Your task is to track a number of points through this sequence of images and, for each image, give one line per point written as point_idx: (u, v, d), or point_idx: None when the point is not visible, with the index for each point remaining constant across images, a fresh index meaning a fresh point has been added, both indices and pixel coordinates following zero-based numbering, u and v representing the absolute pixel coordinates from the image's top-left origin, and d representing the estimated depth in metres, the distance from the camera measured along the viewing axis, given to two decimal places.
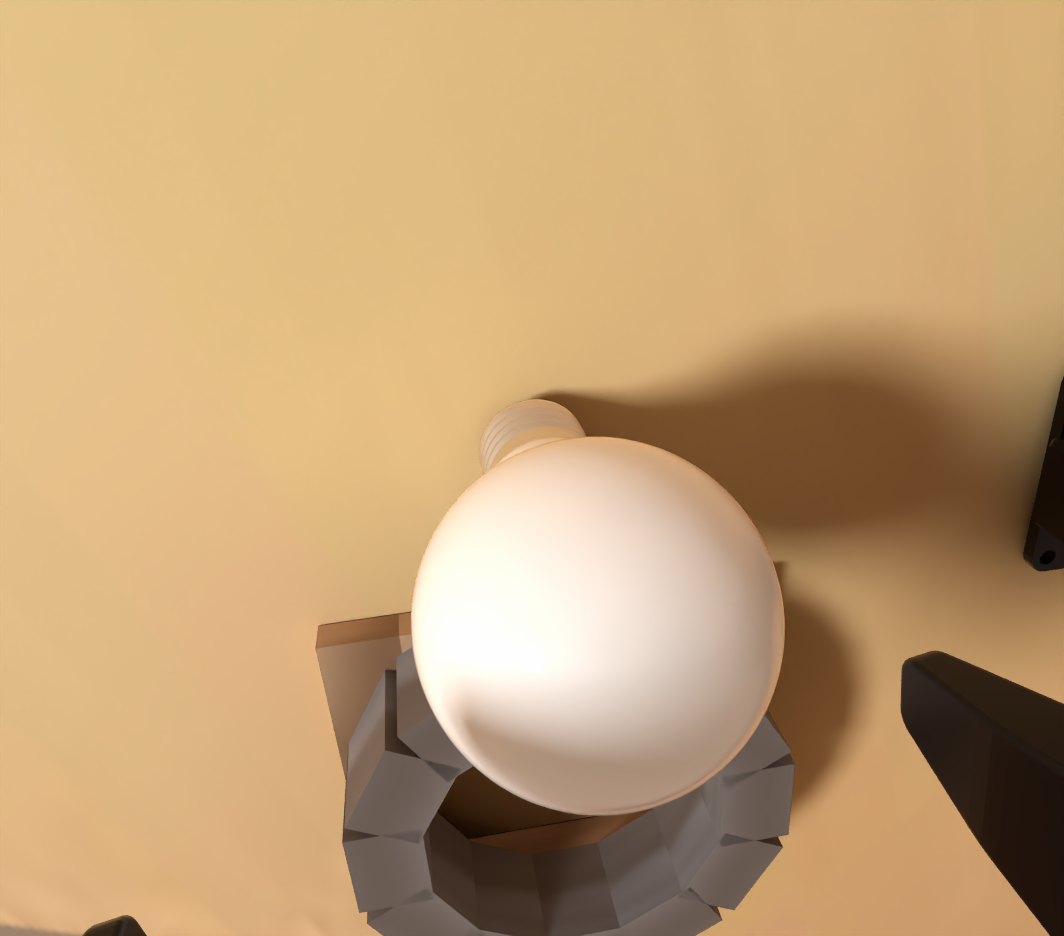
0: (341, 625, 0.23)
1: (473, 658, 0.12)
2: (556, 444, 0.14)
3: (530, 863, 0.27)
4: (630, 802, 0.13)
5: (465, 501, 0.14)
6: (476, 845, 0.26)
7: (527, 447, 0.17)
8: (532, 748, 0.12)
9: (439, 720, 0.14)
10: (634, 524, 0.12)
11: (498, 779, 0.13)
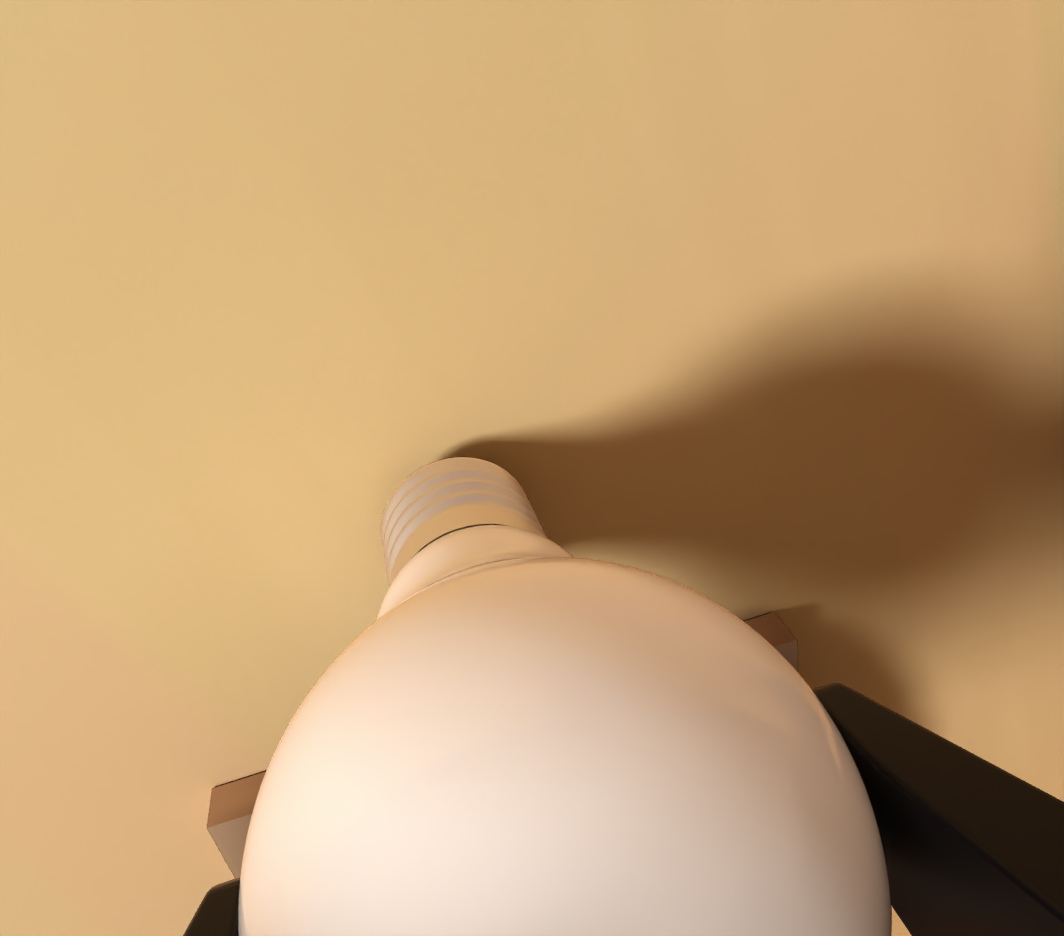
0: (243, 782, 0.17)
1: None
2: (448, 602, 0.08)
3: None
4: None
5: (298, 733, 0.08)
6: None
7: (430, 556, 0.11)
8: None
9: None
10: (597, 791, 0.06)
11: None
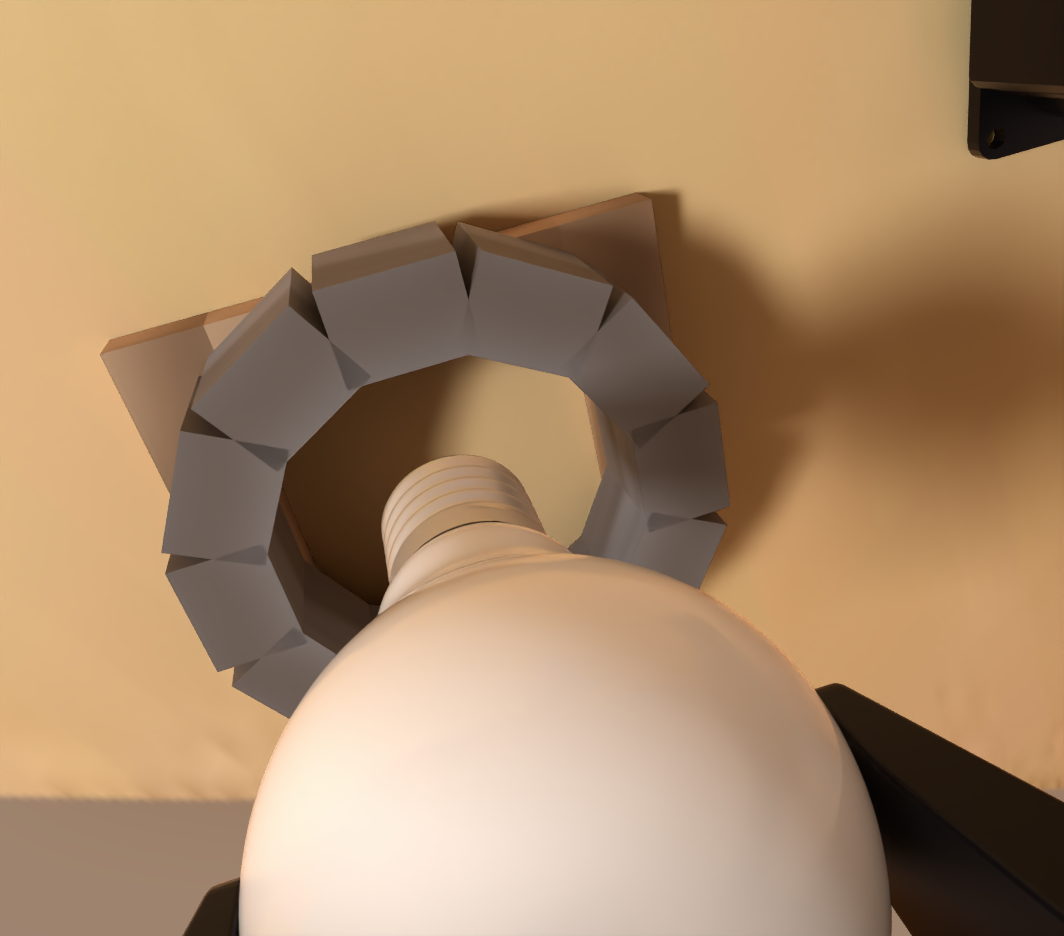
0: (139, 335, 0.19)
1: None
2: (448, 598, 0.08)
3: None
4: None
5: (298, 728, 0.08)
6: (376, 607, 0.22)
7: (431, 553, 0.11)
8: None
9: None
10: (597, 785, 0.06)
11: None
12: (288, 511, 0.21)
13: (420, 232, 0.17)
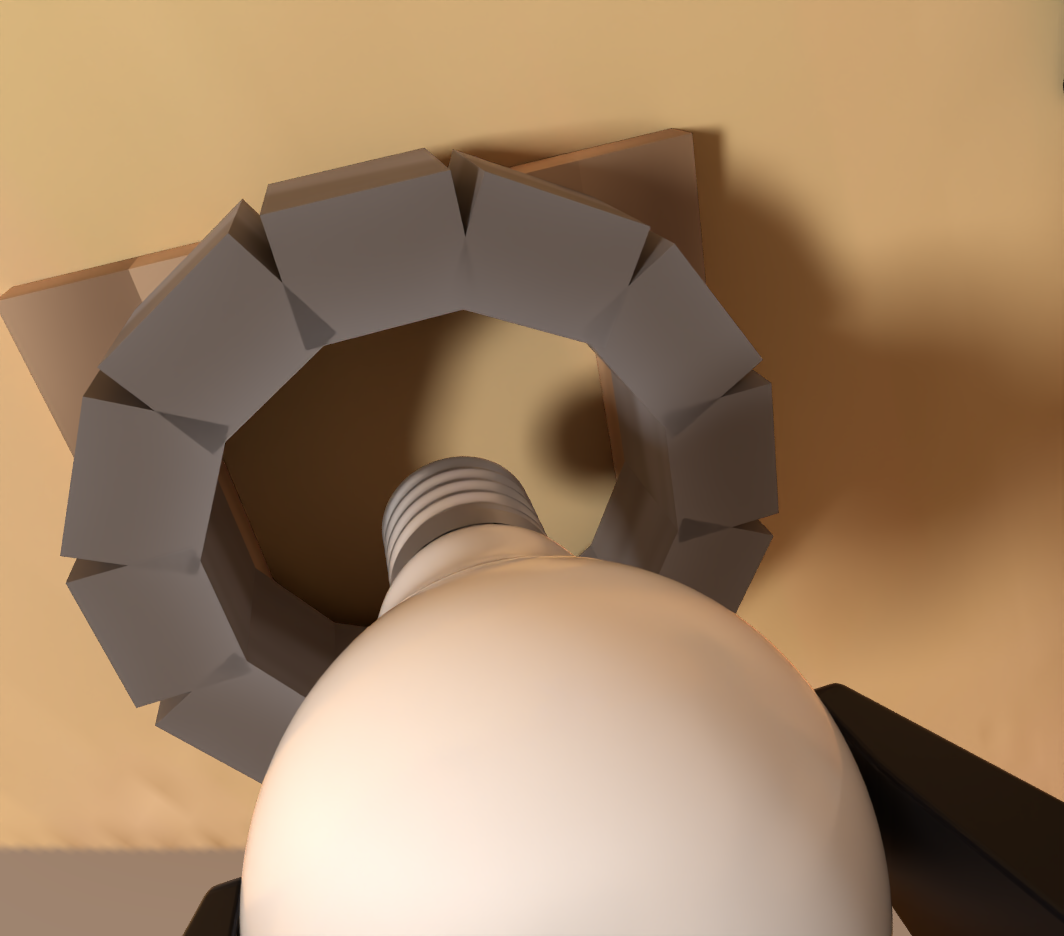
0: None
1: None
2: (449, 600, 0.08)
3: None
4: None
5: (300, 731, 0.08)
6: (343, 627, 0.18)
7: (432, 555, 0.11)
8: None
9: None
10: (598, 789, 0.06)
11: None
12: (237, 508, 0.17)
13: (405, 157, 0.14)
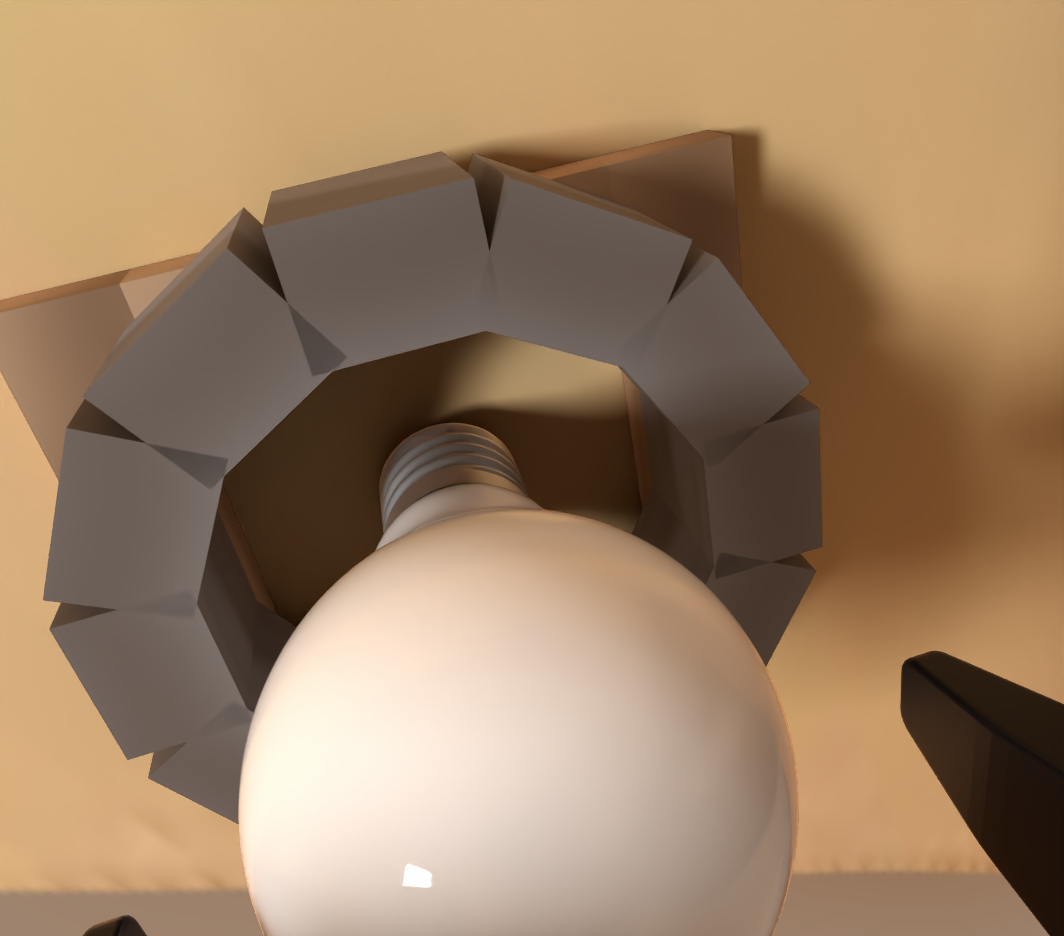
0: None
1: (303, 931, 0.08)
2: (422, 541, 0.09)
3: None
4: None
5: (291, 649, 0.09)
6: None
7: (418, 509, 0.13)
8: None
9: None
10: (534, 693, 0.07)
11: None
12: (238, 537, 0.16)
13: (422, 162, 0.13)
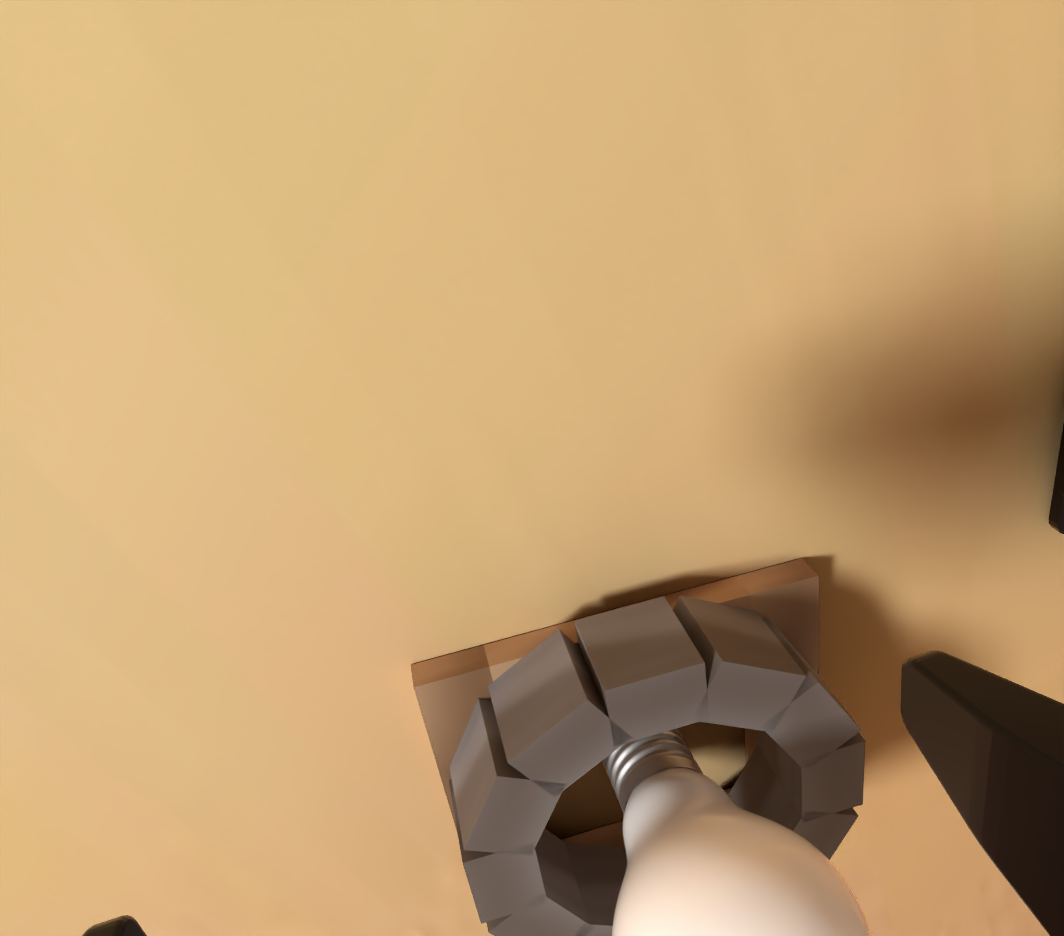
0: (431, 661, 0.25)
1: None
2: (705, 847, 0.20)
3: (622, 856, 0.28)
4: None
5: (651, 901, 0.20)
6: (571, 846, 0.28)
7: (658, 793, 0.24)
8: None
9: None
10: (781, 934, 0.18)
11: None
12: None
13: (659, 613, 0.24)
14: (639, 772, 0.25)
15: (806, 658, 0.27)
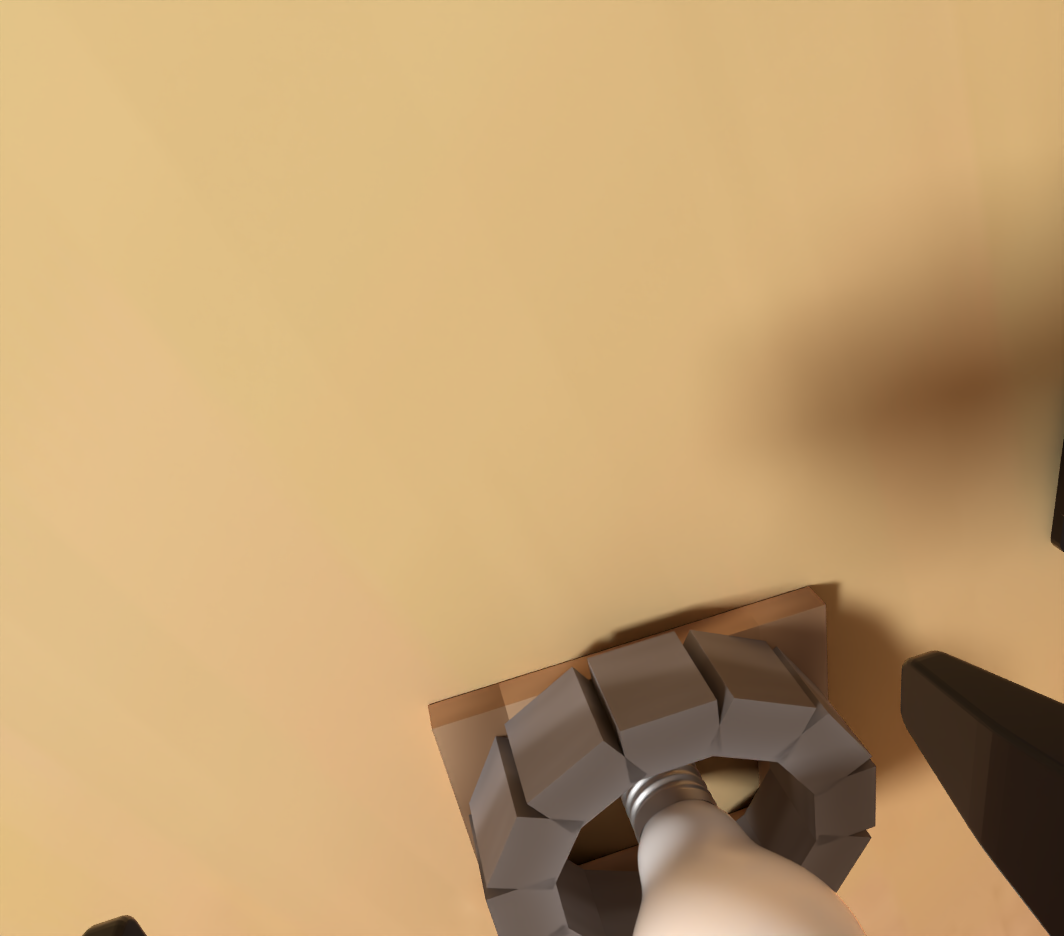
0: (448, 701, 0.25)
1: None
2: (718, 889, 0.21)
3: None
4: None
5: None
6: (590, 872, 0.29)
7: (672, 827, 0.24)
8: None
9: None
10: None
11: None
12: None
13: (670, 649, 0.24)
14: (653, 804, 0.26)
15: (815, 683, 0.27)
